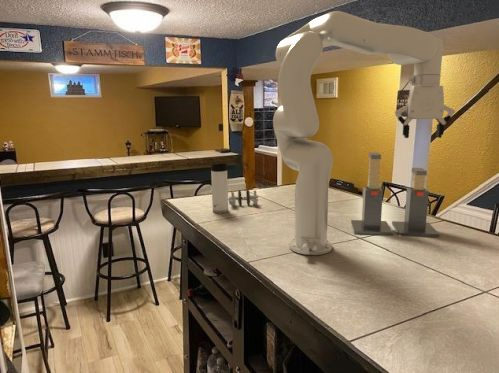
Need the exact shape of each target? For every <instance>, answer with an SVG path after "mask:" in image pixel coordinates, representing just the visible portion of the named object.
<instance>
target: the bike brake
mask: <svg viewBox="0 0 499 373" xmlns="http://www.w3.org/2000/svg"><path fill="white" fill-rule="evenodd" d="M245 193H246V196H242V191H241V190H240V189H238V192H237V195H236V196H235V192H234V191H231V196H228V202H229V203H230V204H231V206H232V207H234V206H235V205H236V201H237V202H238V205H239V207H241V206H242V203H243V202H242V200H246V204H247V206H248V207H249V206H250V205H251V201H252V202H253V204H254V205H258V202H259V199H258V198H259V195H257V190H255V189H254V190H253V195H252V194H251V193H250V190H249V189H246V191H245ZM250 194H251V195H250Z"/></svg>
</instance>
